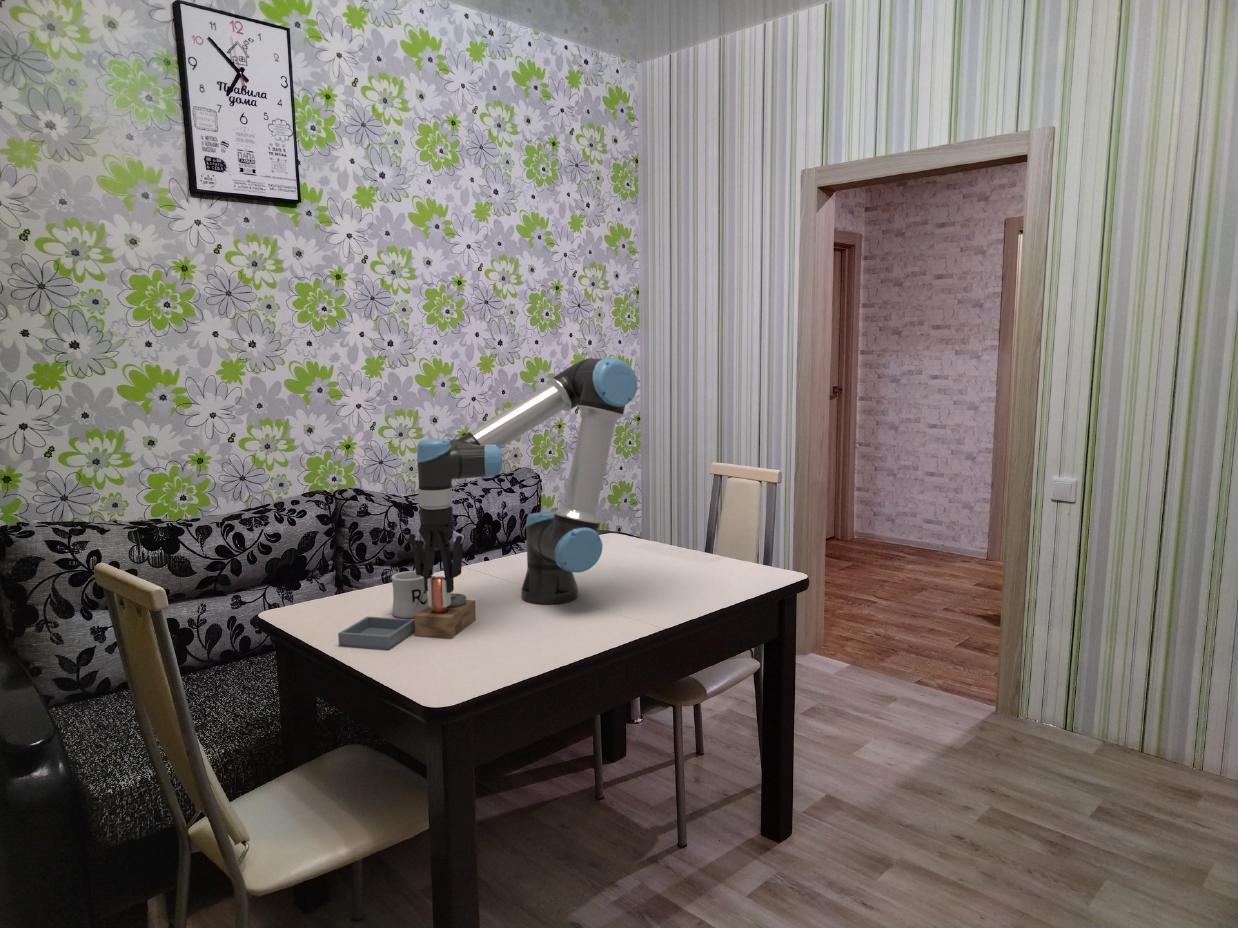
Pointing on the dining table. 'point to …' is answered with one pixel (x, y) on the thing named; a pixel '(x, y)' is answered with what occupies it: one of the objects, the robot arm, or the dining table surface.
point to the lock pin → (438, 596)
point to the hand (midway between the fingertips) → (439, 604)
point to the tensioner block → (446, 619)
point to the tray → (377, 633)
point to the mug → (408, 594)
